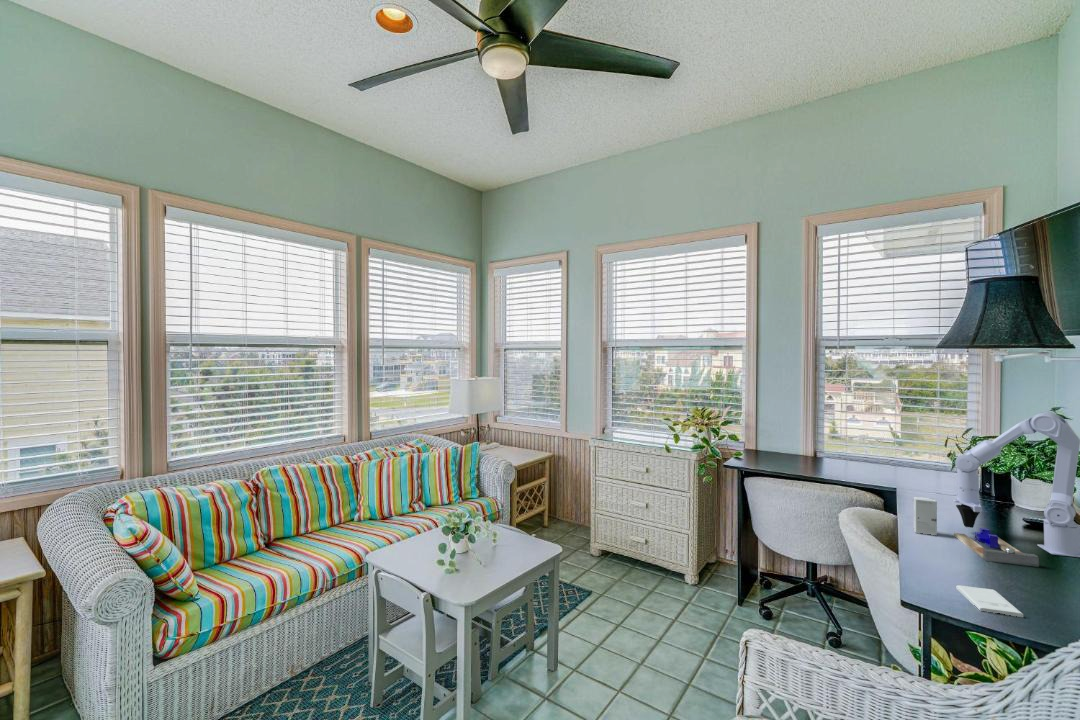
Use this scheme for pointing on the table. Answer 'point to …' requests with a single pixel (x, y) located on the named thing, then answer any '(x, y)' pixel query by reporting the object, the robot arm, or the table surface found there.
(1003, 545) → the birch track
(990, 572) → the table surface
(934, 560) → the table surface
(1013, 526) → the table surface
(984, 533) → the cable holder
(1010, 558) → the block
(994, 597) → the external hard drive
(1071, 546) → the robot arm
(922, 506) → the skincare box
